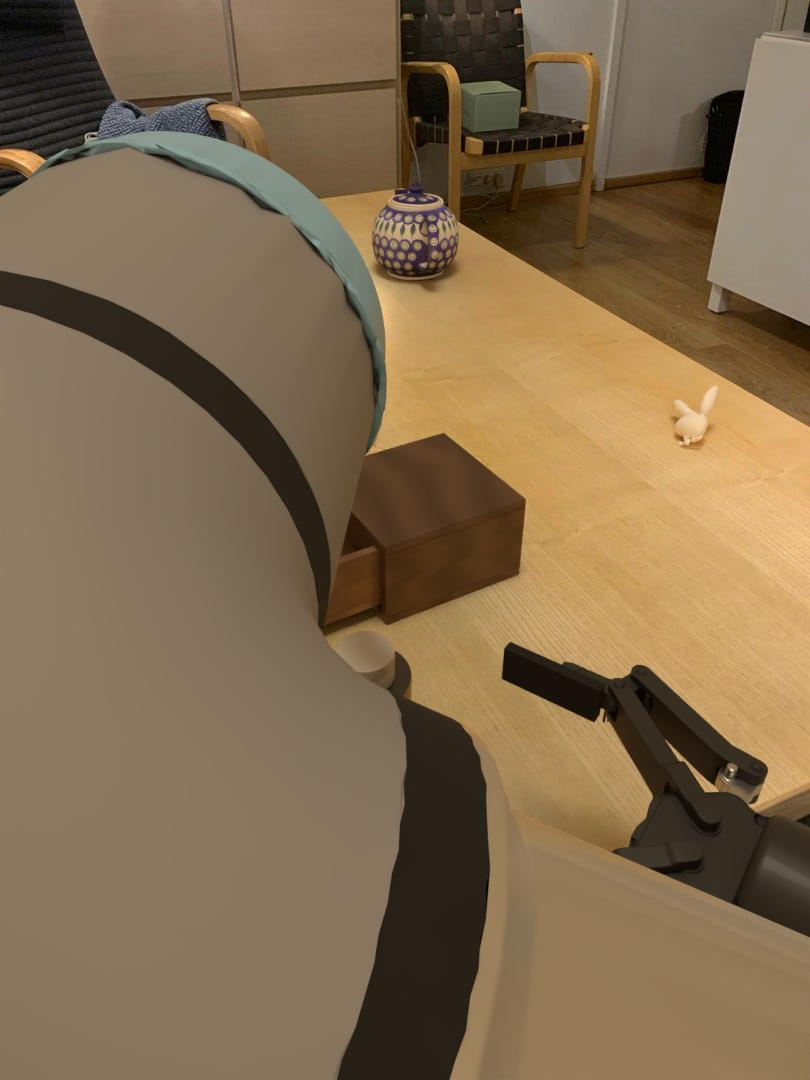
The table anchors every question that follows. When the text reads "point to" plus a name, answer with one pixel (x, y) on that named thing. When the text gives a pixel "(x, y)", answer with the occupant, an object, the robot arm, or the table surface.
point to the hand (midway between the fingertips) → (447, 727)
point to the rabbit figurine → (694, 417)
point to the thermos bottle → (377, 661)
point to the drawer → (355, 576)
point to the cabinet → (436, 524)
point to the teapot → (415, 235)
